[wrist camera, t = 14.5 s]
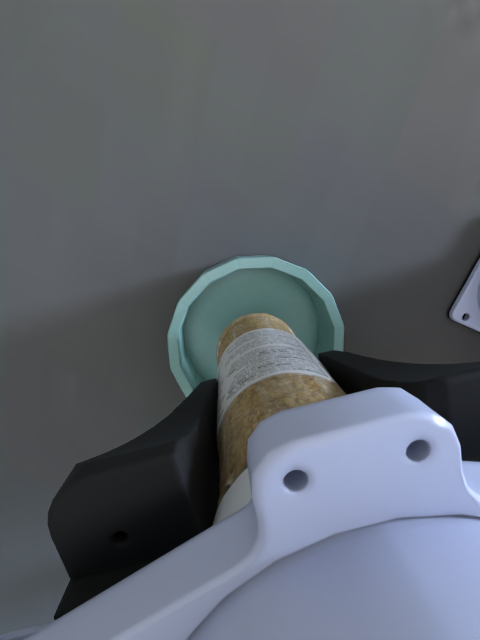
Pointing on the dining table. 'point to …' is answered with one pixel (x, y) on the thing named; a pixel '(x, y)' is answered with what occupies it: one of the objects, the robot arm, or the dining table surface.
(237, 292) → the tin
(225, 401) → the sprinkles bottle
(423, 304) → the dining table surface
